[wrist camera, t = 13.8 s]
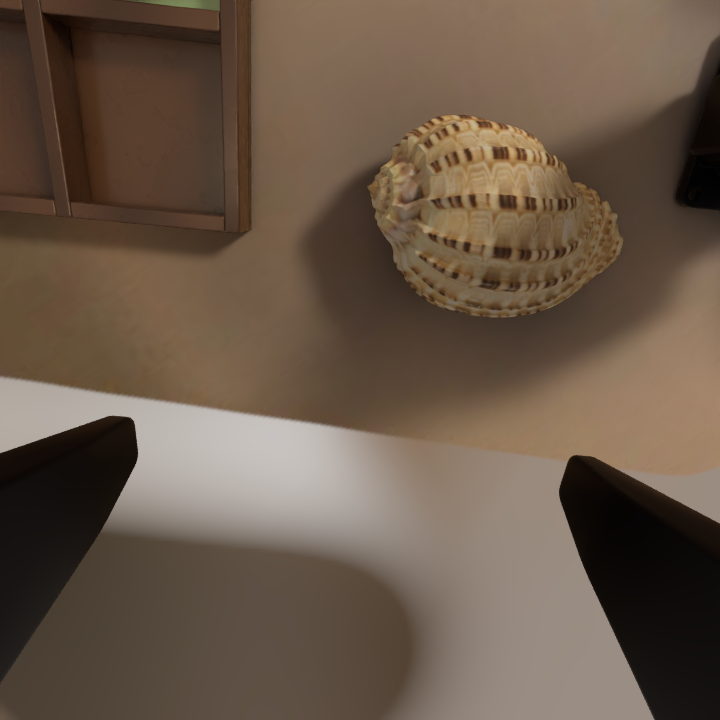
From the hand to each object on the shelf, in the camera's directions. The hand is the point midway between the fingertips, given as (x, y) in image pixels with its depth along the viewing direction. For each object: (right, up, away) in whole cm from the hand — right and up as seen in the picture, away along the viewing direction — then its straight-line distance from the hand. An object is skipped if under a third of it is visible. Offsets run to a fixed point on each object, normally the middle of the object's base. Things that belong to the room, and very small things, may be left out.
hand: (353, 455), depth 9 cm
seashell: (+6, +8, +10) cm, 14 cm away
